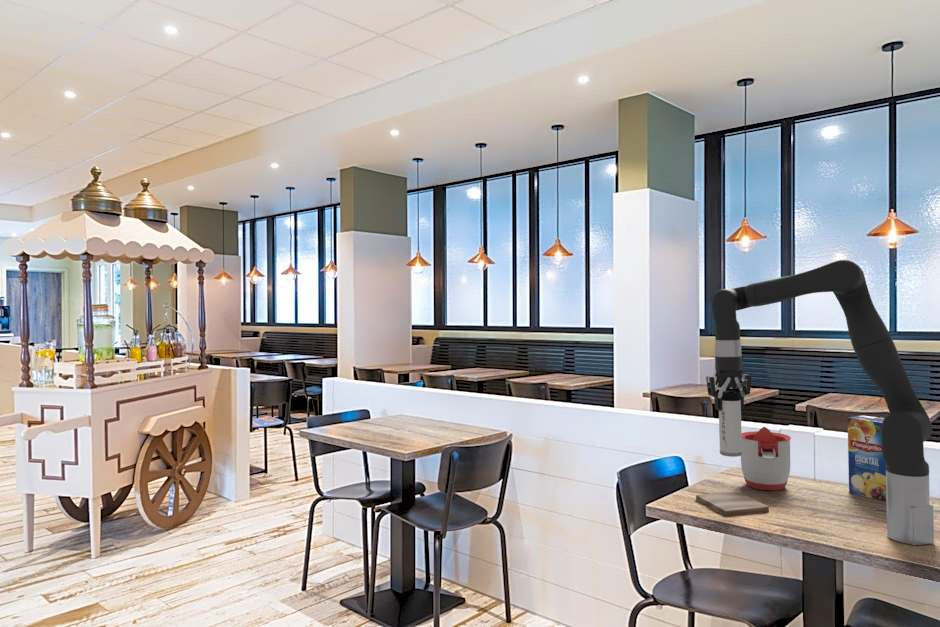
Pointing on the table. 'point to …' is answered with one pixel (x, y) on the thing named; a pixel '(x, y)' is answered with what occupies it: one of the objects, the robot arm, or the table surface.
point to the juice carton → (866, 457)
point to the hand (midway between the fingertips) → (729, 409)
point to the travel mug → (730, 424)
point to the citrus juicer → (765, 459)
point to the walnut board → (732, 503)
